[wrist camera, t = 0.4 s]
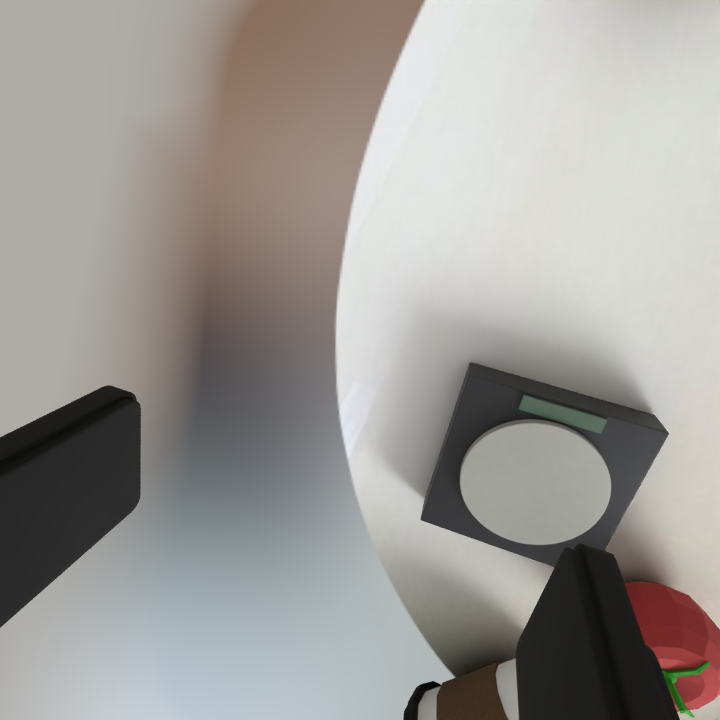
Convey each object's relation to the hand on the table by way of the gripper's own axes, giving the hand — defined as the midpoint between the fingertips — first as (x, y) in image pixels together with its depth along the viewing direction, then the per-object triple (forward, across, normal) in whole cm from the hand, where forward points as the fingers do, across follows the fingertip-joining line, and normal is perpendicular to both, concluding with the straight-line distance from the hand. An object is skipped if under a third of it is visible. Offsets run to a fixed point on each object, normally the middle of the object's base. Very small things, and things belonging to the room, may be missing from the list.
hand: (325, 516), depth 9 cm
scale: (+22, -9, +10) cm, 26 cm away
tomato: (+23, -20, +18) cm, 35 cm away
